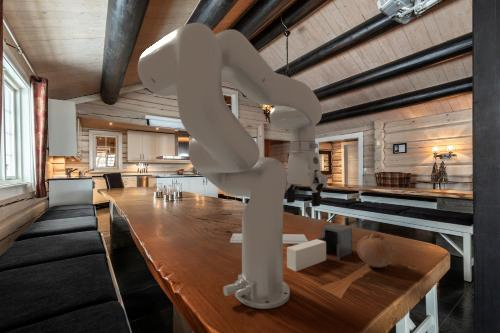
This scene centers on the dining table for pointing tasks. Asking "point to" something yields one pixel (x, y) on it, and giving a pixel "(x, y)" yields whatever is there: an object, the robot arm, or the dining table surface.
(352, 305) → the dining table surface
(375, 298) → the dining table surface
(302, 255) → the rectangular block
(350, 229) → the end cap
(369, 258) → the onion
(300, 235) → the baseboard molding
